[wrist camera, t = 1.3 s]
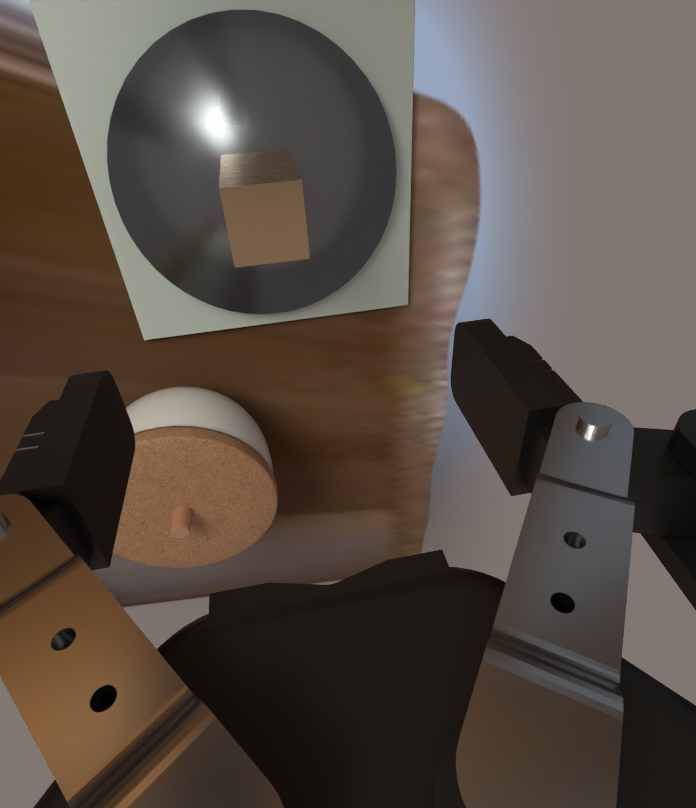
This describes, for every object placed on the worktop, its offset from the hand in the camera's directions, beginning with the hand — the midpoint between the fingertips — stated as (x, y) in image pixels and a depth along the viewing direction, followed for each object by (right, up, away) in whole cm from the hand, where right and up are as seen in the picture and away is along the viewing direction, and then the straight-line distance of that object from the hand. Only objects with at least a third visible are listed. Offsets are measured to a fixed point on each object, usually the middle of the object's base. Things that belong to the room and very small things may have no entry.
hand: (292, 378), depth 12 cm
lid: (-3, +11, +14) cm, 18 cm away
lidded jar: (-9, -2, +23) cm, 25 cm away
